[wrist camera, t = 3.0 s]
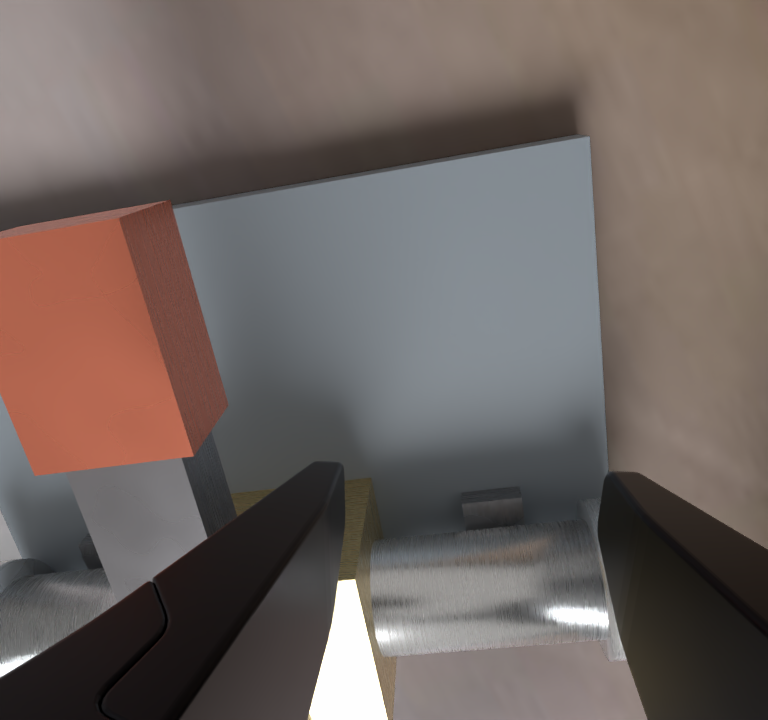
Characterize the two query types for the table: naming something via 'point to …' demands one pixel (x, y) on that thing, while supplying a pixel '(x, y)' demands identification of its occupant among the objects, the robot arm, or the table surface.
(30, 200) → the table surface
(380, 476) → the slate board
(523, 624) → the pipe and valve
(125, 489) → the lever
